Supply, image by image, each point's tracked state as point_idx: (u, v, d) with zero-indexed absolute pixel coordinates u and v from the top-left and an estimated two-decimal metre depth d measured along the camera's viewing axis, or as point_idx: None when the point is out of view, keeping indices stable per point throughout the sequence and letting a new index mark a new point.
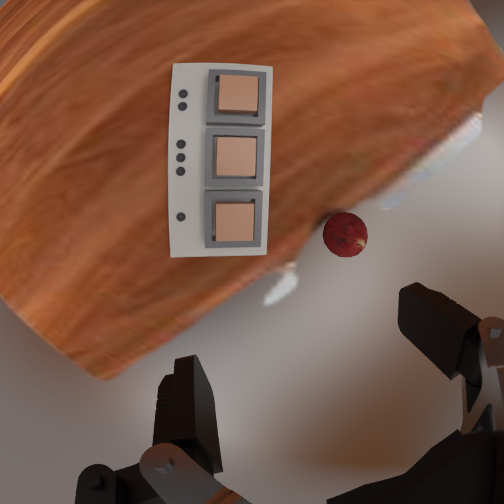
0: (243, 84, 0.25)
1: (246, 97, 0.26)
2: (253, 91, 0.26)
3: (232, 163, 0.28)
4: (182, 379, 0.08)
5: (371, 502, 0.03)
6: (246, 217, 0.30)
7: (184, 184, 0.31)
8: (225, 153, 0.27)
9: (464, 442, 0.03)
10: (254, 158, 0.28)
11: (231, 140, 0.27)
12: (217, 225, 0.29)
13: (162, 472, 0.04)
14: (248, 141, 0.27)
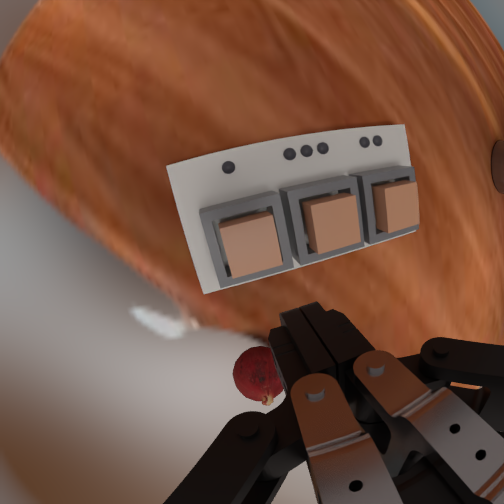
0: (411, 210, 0.22)
1: (399, 217, 0.22)
2: (406, 223, 0.23)
3: (328, 222, 0.21)
4: (297, 326, 0.09)
5: None
6: (262, 261, 0.21)
7: (272, 162, 0.23)
8: (338, 210, 0.21)
9: (410, 502, 0.03)
10: (338, 247, 0.22)
11: (353, 213, 0.21)
12: (243, 224, 0.20)
13: (320, 398, 0.06)
14: (356, 233, 0.22)
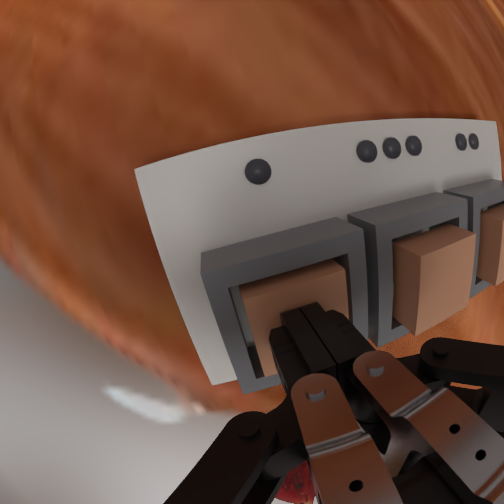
0: None
1: None
2: None
3: (439, 282, 0.10)
4: (297, 326, 0.09)
5: None
6: None
7: (339, 164, 0.12)
8: (454, 260, 0.10)
9: (409, 502, 0.03)
10: (442, 319, 0.11)
11: (469, 263, 0.10)
12: (289, 289, 0.10)
13: (321, 398, 0.06)
14: (465, 295, 0.11)
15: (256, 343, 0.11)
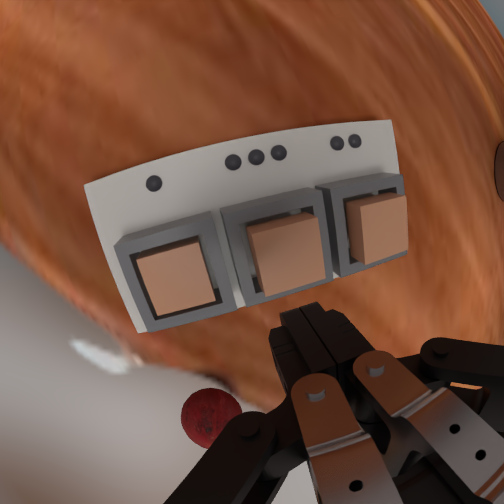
0: (397, 233, 0.17)
1: (381, 242, 0.17)
2: (390, 250, 0.18)
3: (278, 255, 0.16)
4: (297, 326, 0.09)
5: None
6: (190, 296, 0.17)
7: (210, 174, 0.18)
8: (292, 238, 0.16)
9: (409, 502, 0.03)
10: (293, 286, 0.17)
11: (315, 242, 0.16)
12: (162, 254, 0.16)
13: (321, 399, 0.06)
14: (318, 268, 0.17)
15: (147, 289, 0.17)
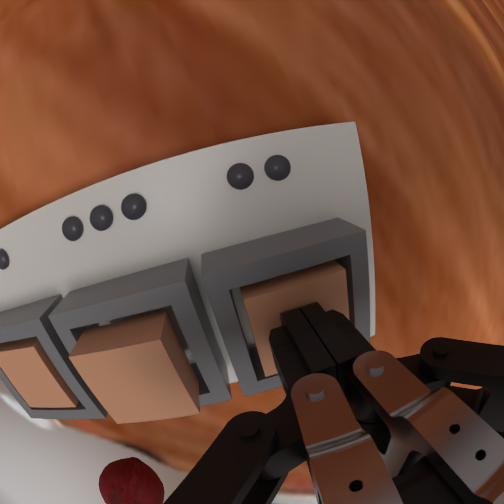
0: None
1: None
2: None
3: (113, 384, 0.09)
4: (297, 326, 0.09)
5: None
6: (49, 398, 0.10)
7: (51, 246, 0.11)
8: (127, 367, 0.09)
9: (410, 502, 0.03)
10: (151, 419, 0.10)
11: (166, 373, 0.09)
12: (9, 353, 0.09)
13: (321, 399, 0.06)
14: (183, 403, 0.10)
15: (12, 382, 0.10)
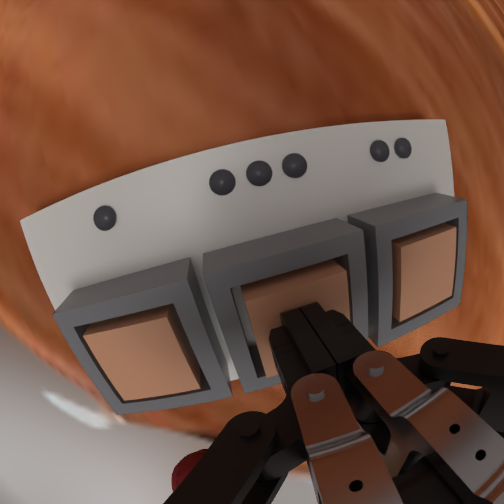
0: (442, 277, 0.12)
1: (422, 292, 0.12)
2: (431, 299, 0.12)
3: None
4: (297, 326, 0.09)
5: None
6: (163, 383, 0.11)
7: (187, 201, 0.12)
8: (308, 303, 0.10)
9: (409, 502, 0.03)
10: None
11: (341, 305, 0.11)
12: (117, 331, 0.10)
13: (321, 398, 0.06)
14: None
15: (105, 372, 0.10)
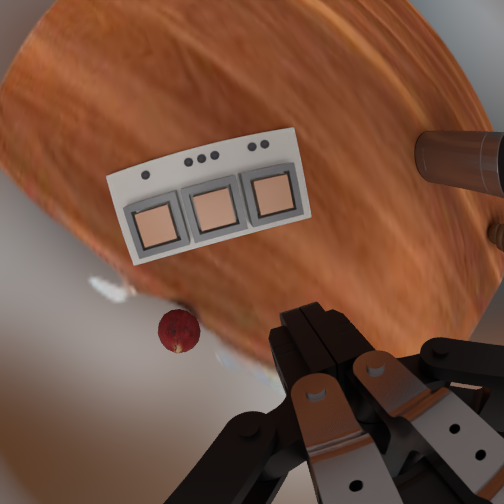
0: (282, 196, 0.32)
1: (271, 202, 0.32)
2: (278, 207, 0.32)
3: (207, 208, 0.31)
4: (297, 326, 0.09)
5: None
6: (162, 235, 0.31)
7: (176, 169, 0.31)
8: (214, 199, 0.31)
9: (410, 502, 0.03)
10: (217, 226, 0.32)
11: (227, 201, 0.31)
12: (148, 211, 0.30)
13: (321, 398, 0.06)
14: (231, 216, 0.32)
15: (140, 231, 0.30)
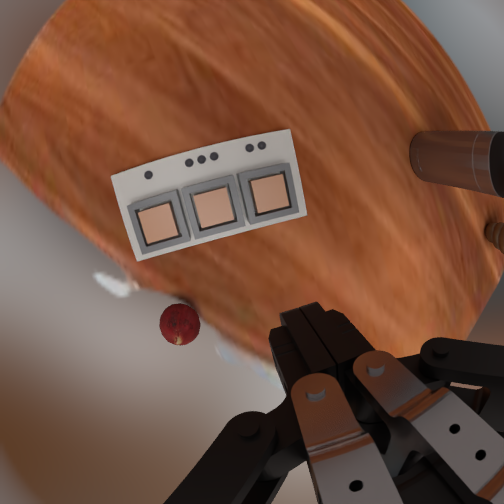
0: (278, 195, 0.34)
1: (267, 201, 0.34)
2: (274, 205, 0.34)
3: (206, 206, 0.33)
4: (297, 326, 0.09)
5: None
6: (164, 232, 0.33)
7: (177, 169, 0.33)
8: (213, 198, 0.32)
9: (409, 502, 0.03)
10: (216, 223, 0.33)
11: (226, 199, 0.33)
12: (151, 209, 0.32)
13: (321, 398, 0.06)
14: (229, 213, 0.33)
15: (143, 228, 0.32)
